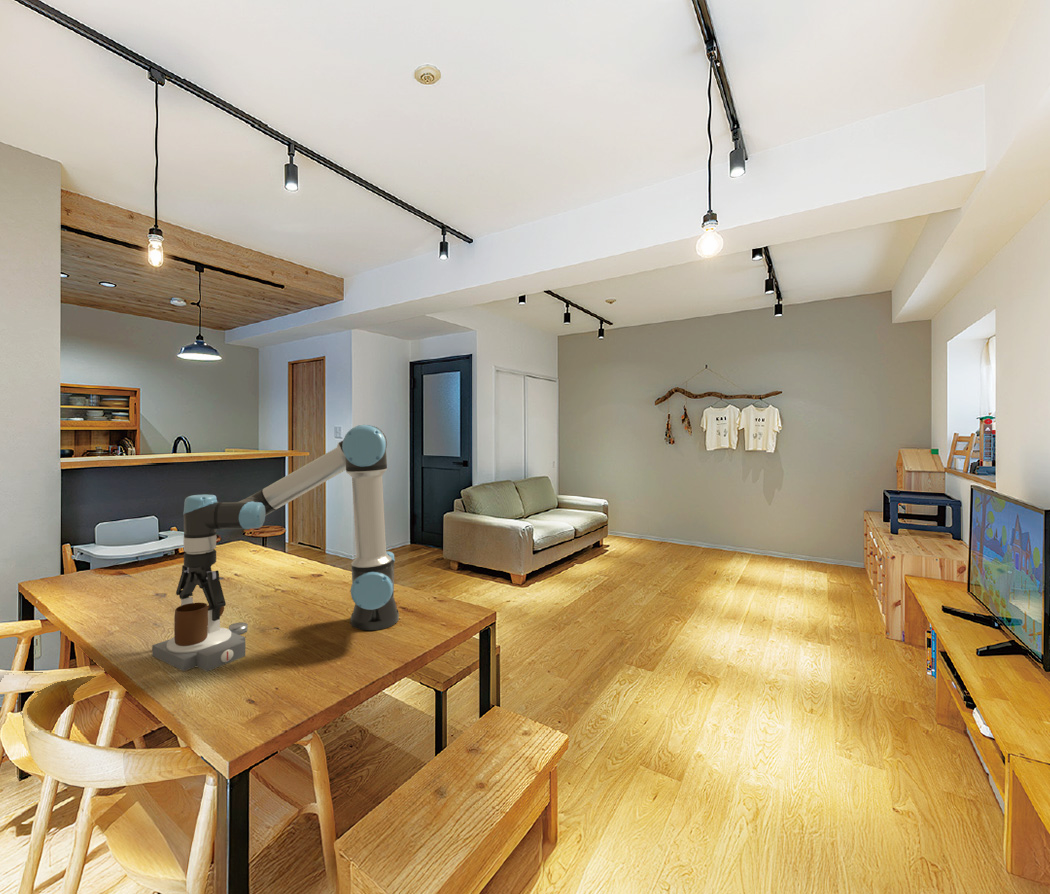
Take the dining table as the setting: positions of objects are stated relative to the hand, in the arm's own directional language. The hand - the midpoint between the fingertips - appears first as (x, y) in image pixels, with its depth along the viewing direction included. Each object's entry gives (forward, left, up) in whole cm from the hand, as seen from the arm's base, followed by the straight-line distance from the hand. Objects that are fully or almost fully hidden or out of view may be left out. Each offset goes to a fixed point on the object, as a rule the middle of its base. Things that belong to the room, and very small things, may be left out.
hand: (200, 626), depth 134 cm
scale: (-3, 0, -7) cm, 8 cm away
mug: (0, 0, -4) cm, 4 cm away
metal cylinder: (+4, -13, -7) cm, 15 cm away
